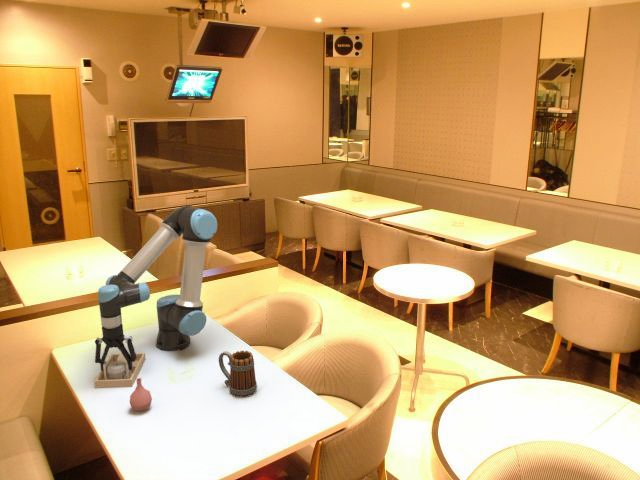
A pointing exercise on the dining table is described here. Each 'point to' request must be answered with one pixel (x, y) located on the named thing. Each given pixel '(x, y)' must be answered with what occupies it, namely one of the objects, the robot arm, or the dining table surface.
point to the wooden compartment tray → (124, 382)
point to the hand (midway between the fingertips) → (117, 377)
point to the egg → (121, 358)
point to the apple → (116, 369)
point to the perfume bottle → (140, 397)
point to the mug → (239, 373)
